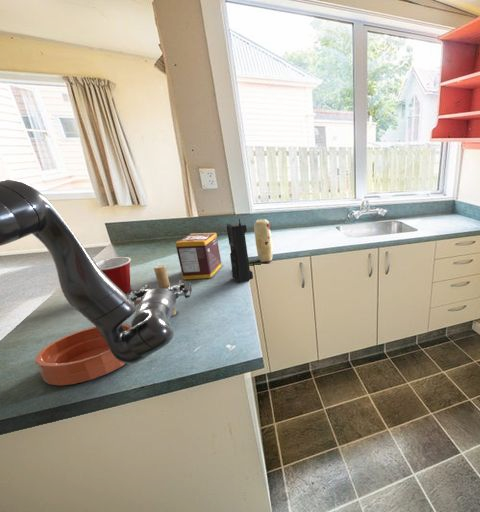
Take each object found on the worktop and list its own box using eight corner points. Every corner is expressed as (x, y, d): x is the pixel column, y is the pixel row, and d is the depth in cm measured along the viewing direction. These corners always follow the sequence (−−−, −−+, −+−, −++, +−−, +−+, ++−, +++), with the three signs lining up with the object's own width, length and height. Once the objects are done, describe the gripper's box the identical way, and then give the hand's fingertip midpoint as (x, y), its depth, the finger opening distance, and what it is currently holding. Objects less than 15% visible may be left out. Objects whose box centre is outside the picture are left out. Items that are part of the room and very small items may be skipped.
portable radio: (231, 277, 121) (221, 217, 114) (246, 274, 125) (237, 215, 118) (238, 283, 116) (228, 220, 108) (253, 279, 120) (245, 218, 112)
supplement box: (222, 265, 135) (216, 232, 130) (211, 278, 121) (204, 241, 116) (197, 267, 133) (190, 233, 128) (182, 279, 119) (174, 242, 114)
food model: (277, 261, 142) (272, 220, 136) (263, 264, 137) (258, 221, 131) (268, 256, 148) (264, 217, 142) (255, 259, 144) (249, 218, 138)
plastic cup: (90, 299, 101) (79, 266, 98) (118, 286, 112) (109, 256, 108) (121, 300, 101) (111, 267, 97) (146, 287, 111) (138, 257, 108)
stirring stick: (165, 317, 90) (153, 268, 86) (166, 313, 93) (154, 265, 88) (175, 315, 92) (164, 267, 87) (176, 311, 94) (166, 264, 89)
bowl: (28, 398, 60) (18, 375, 58) (62, 353, 74) (55, 334, 72) (132, 372, 67) (125, 351, 66) (145, 335, 81) (140, 318, 80)
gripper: (186, 289, 79) (190, 269, 93) (117, 299, 73) (132, 277, 86) (191, 313, 82) (194, 291, 95) (125, 326, 75) (138, 300, 88)
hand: (165, 285), depth 91 cm, fingers open, 8 cm apart
